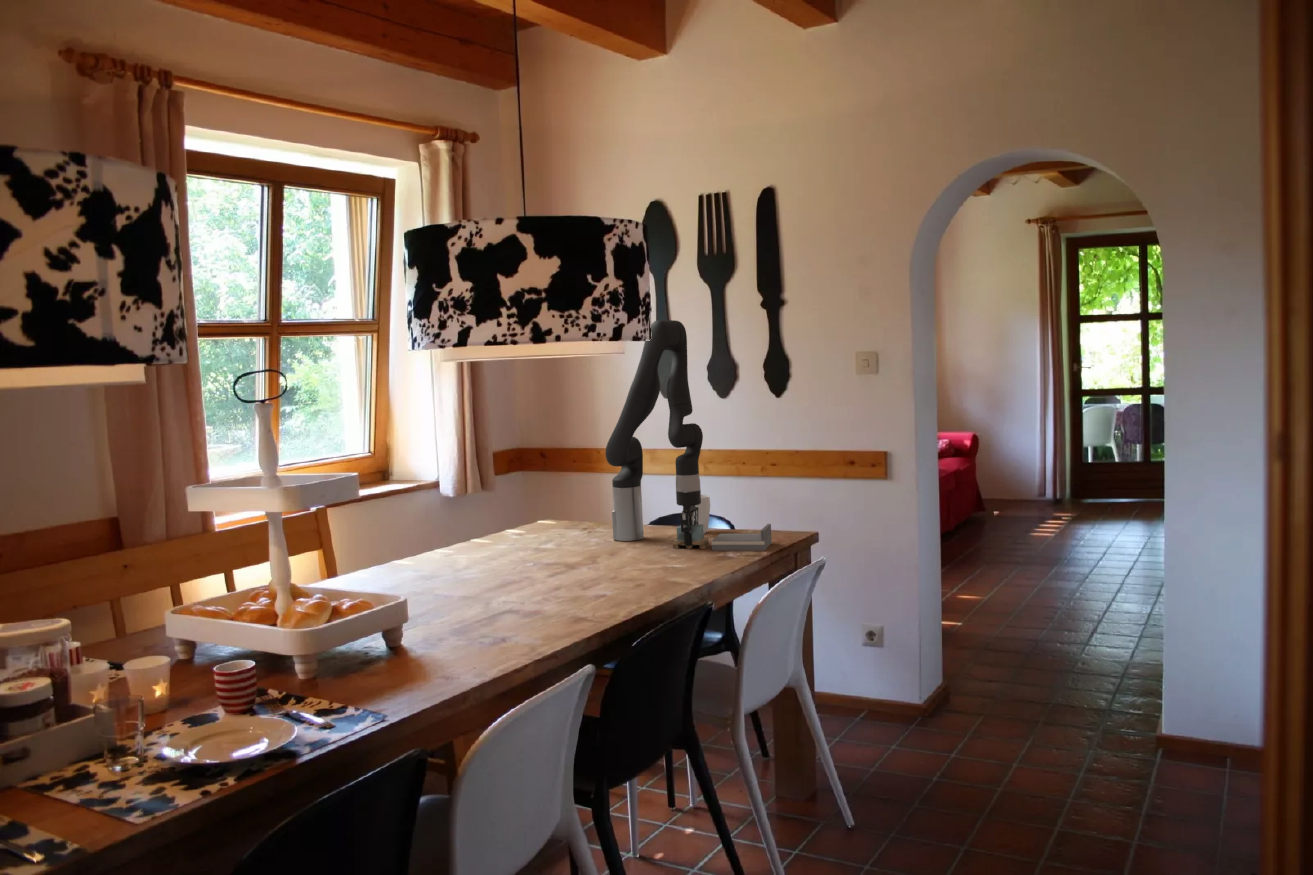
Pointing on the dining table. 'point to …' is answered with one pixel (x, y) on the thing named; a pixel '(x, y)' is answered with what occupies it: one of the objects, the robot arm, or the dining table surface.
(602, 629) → the dining table surface
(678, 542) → the pallet
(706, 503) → the cup
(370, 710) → the dining table surface
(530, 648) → the dining table surface
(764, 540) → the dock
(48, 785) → the dining table surface
